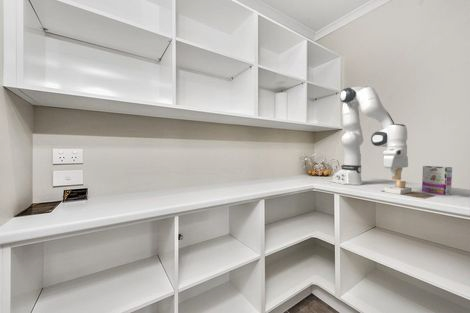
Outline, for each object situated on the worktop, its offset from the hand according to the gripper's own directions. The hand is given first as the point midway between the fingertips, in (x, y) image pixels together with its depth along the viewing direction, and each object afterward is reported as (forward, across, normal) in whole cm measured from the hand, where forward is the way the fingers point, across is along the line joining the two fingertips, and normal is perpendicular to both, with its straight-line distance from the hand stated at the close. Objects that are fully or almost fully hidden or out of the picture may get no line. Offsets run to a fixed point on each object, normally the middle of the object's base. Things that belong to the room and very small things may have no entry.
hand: (396, 175), depth 110 cm
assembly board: (+11, -3, +4) cm, 12 cm away
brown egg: (+2, 0, 0) cm, 2 cm away
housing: (+10, -3, 0) cm, 10 cm away
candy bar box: (+11, -21, +10) cm, 26 cm away
